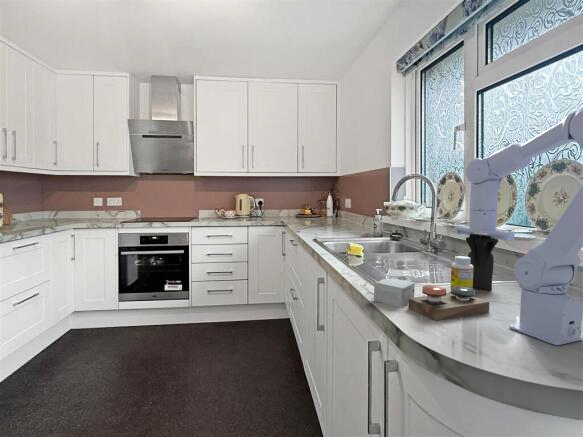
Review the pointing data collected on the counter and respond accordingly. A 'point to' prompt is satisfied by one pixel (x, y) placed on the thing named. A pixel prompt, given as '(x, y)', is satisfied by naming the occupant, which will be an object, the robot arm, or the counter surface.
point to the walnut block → (448, 307)
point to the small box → (393, 291)
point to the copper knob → (434, 294)
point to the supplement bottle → (462, 272)
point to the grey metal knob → (462, 293)
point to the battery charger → (482, 273)
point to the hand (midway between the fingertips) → (480, 266)
